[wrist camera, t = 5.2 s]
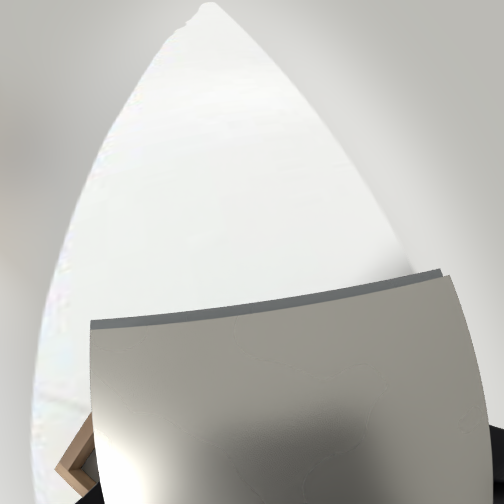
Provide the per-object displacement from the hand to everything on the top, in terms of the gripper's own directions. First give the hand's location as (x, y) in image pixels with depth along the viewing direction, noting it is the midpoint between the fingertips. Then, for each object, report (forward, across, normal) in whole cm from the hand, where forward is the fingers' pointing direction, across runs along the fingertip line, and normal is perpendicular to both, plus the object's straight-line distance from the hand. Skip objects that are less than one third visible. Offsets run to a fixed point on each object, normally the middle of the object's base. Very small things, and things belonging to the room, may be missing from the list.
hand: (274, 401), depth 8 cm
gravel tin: (+4, 0, +6) cm, 7 cm away
